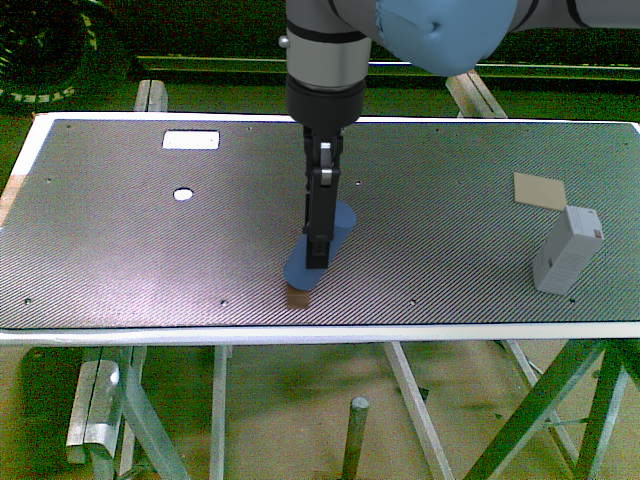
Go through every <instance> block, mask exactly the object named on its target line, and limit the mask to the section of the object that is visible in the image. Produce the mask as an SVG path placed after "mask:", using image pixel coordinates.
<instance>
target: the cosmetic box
mask: <svg viewBox="0 0 640 480" xmlns="http://www.w3.org/2000/svg"><path fill="white" fill-rule="evenodd" d="M604 242H605V235H604V233H603V226H602V222H601V221H600V219H599V216H598V212H597V209H593V208H587V207H580V206H575V205H567V206H565V208H564V209H563V211H562V212H561V213H560V215H558V218H557V219H556V220H555V223H554V224H553V226H552V228H551V230H550V231H549V232H548V234H547V236H546V238H545V240H544V242H543V243H542V245H541V247H540V248H539V250H538V251H537V253H536V255H535V256H534V258H533V260H532V263H531V266H532V269H531V270H532V277H533V283H534V289H535V290H536V291H539V292H542V293H548V294H551V295H552V294H553V295H558V296H565V295H566V294H567V292H568V291H569V290H570V288H571V287H572V286H573V284H574V283H575V282H576V280H577V279H578V277H579V276H580V275H581V273H582V272H583V271H584V269H585V268H586V266H588V264H589V262H590V261H591V260H592V258H593V257H594V255H595V254H596V253H597V251H598V250H599V249H600V248H601V246H602V245H603V243H604Z"/></svg>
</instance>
